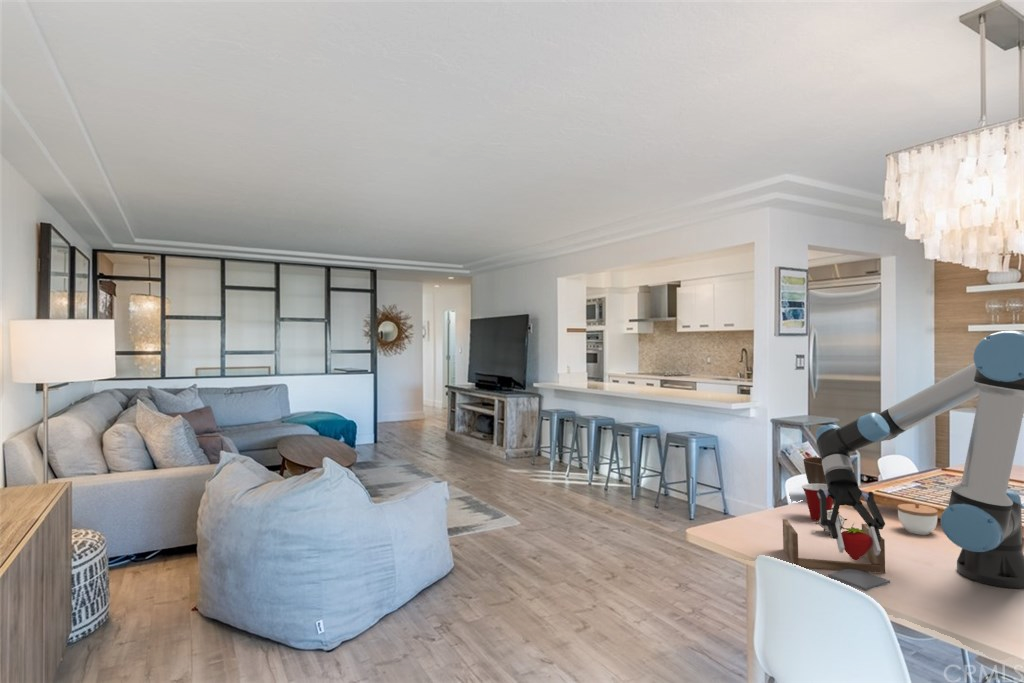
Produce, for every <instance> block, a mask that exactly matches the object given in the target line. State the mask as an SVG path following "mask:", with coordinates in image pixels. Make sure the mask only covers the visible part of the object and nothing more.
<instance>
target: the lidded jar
mask: <svg viewBox="0 0 1024 683" xmlns="http://www.w3.org/2000/svg"><path fill="white" fill-rule="evenodd" d="M938 514H939V511H938V509H937V508H934V507H931V506H928V505H921V504H920V503H919V502H915V503H900V504H898V505H897V516H898V521H899V522H900V524H901V526H902V527H903V528H904V529H905V530H906V532H908V533H910V534H915V535H919V536H927V535H928V536H929V535H930V534H931V532H933V531H934V530H935V529H936V527H937V525H938Z"/></svg>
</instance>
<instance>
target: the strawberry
mask: <svg viewBox="0 0 1024 683" xmlns="http://www.w3.org/2000/svg"><path fill="white" fill-rule="evenodd" d="M854 524H855V523H853V524H852V525H851V526H850V528H848V527H847V528H845V527H844V528H842V529H841V530H844V531H841V535H842V539H843V543H844V547H845V549H844V551H845V552H846V553H847V555H848V556H849V557H850V558H851V559H852V560H853V561H859V560H860V559H861V558H862V557H864V556H863V555H864V554H865V553H866V552H867V551H868V550H869V549H870V547H871V545H872V540H871V537H870V536H869V535H867V534H865V532H863V531H866V530H862V529H860V528H857V527H856V528H855V527H853V526H854Z"/></svg>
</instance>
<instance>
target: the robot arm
mask: <svg viewBox="0 0 1024 683" xmlns="http://www.w3.org/2000/svg"><path fill="white" fill-rule="evenodd" d="M973 362H974V363H972V364H969V365H968V366H966V367H964V368H962V369H960V370H958V371H956V372H955V373H953V374H951V375H949V376H947V377H945V378H943V379H941V380H939V381H938V382H935V383H933V384H932V385H930V386H929V387H926V388H925V389H923V390H920V391H918V392H917V393H915V394H913V395H912V396H909V397H908V398H906V399H903V400H902V401H900V402H899V403H896V404H894V405H892V406H891V407H889V408H887V409H885V410H883V411H881V412H879V413H877V412H870V413H867V414H865V415H861V416H860V417H858V418H856V419H855V420H853V421H850V422H849V423H847V424H845V425H842V426H838V425H836V424H827V425H821V426H819V427H818V428H817V430H816V431H815V434H814V435H815V440H816V447H817V448H818V453H819V457H821V461H822V466H823V470H824V474H825V479H826V483H827V487H828V490H822V489H819V490H818V493H817V497H818V499H819V501H820V518H821V525H823V526H825V525H826V526H828V528H829V529H830V532H831V535H830V536H831V538H832V539H834V540H835V541H836V544H837V548H838V552H839V553H841V554H842V553H844V551H845V550H844V549H845V547H844V543H843V539H842V535H841V533H842V529H841V530H840V526H839V524H836V525H835V523H836V519H837V515H838V512H840V510H839V509H840V506H842V507H843V506H849V507H852V508H853V509H854V510H856V512H857V514H859V515H860V517H861V518H862V520H863V521H864V523H865V524H867V525H868V526H869V528H870V529H869V531H868V532H869V536H870V537H871V540H872V546H873V550H874V553H875V555H879V553H880V551H881V549H880V546H879V542H880V540H881V537H882V536H881V533H880V530H883V529H884V527H885V525H886V521H885V519H884V517H883V515H882V514H881V512H880V509H879V506H878V505H877V503H876V501H875V496H874V492H873V491H868V492H864V491H862V490H861V489H860V488H859V483H858V480H857V477H856V474H855V470H854V466H853V464H852V460H851V455H850V454H851V453H853V452H857V451H859V450H860V449H863V448H866V447H869V446H870V445H873V444H876V443H880V442H884V441H891V440H893V439H896V438H897V437H898V436H899V435H901V434H903V433H905V432H907V431H908V430H910V429H912V428H915V427H917V426H919V425H921V424H922V423H925V422H927V421H929V420H931V419H933V418H935V417H937V416H939V415H942V414H943V413H945V412H947V411H949V410H951V409H954V408H956V407H957V406H959V405H962V404H964V403H965V402H968V401H970V400H972V399H974V398H976V397H978V399H977V404H976V408H975V413H974V419H973V423H972V429H971V434H970V437H969V443H968V448H967V453H966V457H965V458H966V459H965V463H964V468H963V472H962V477H961V482H960V483H957V484H956V485H953V486H952V487H951V493H950V495H949V496H950V497H949V501H948V505H947V507H946V508H945V509H944V510H943V512H942V514H941V516H940V526H941V529H942V532H943V534H944V535H945V537H947V538H948V540H949V541H951V542H952V544H955V545H956V546H957V547H959V548H961V550H960V552H959V555H958V557H957V560H956V571H957V573H959V574H960V575H961V576H963V577H965V578H967V579H969V580H972V581H975V582H977V583H981V584H985V585H990V586H995V587H1001V588H1008V589H1024V551H1023V527H1022V526H1023V525H1022V524H1023V522H1022V520H1023V519H1022V507H1023V504H1022V501H1021V496H1020V495H1019V493H1017V492H1015V491H1012V490H1008V488H1009V483H1010V478H1011V473H1012V469H1013V468H1012V467H1013V464H1014V459H1015V456H1016V449H1017V445H1018V441H1019V436H1020V431H1021V427H1022V422H1023V417H1024V331H1021V330H1020V331H1019V330H1001V331H996V332H993V333H991V334H989V335H988V336H985V337H983V338H982V340H980V341H979V342H978V344H977V345H976V346H975V348H974V352H973ZM827 495H829V496H830V497H831V498H832V499H833V500H834V501H835V503H833V506H832V508H833V511H832V515H831V518H830V520H828V519H827V504H826V498H827ZM860 498H863V500H864V502H866V505H867V507H868V509H869V511H868V510H867V508H866V507H865V506H864V504H863V501H862V500H861V499H860Z"/></svg>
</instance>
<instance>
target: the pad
mask: <svg viewBox="0 0 1024 683" xmlns="http://www.w3.org/2000/svg"><path fill="white" fill-rule="evenodd" d="M827 577H829V578H831V579H833V580H837V581H840V582H841V583H842V582H843V583H844V584H847V585H850V586H852V587H855V588H858V589H861V590H863V591H869V590H872V589H875V588H878V587H881V586H884V585H888V584H891V580H890V579H887V578H885V577H881V576H878V575H875V574H873V573H871V572H864V571H861V570H859V569H850V568H848V569H844V570H837V571H835V572H831V573H828V574H827Z"/></svg>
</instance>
